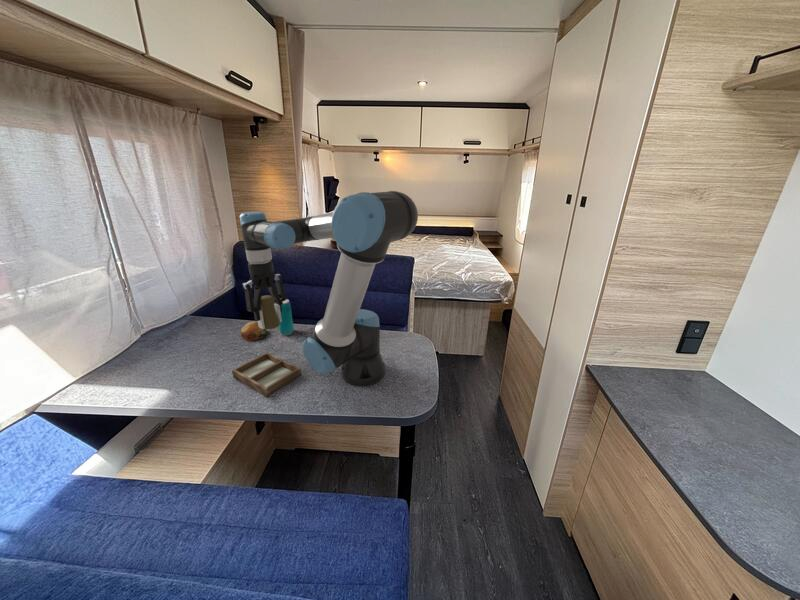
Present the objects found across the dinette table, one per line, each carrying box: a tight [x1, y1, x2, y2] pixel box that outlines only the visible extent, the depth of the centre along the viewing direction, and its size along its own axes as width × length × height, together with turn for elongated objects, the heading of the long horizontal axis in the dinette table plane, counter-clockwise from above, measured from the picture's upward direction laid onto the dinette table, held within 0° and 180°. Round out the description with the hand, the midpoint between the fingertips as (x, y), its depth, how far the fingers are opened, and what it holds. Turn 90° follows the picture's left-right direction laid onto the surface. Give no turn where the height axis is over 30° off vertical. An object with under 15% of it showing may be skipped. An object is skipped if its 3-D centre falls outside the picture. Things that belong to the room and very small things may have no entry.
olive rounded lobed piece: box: [260, 294, 280, 330], centre depth 109 cm, size 6×6×11 cm
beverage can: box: [278, 298, 294, 337], centre depth 133 cm, size 6×6×15 cm
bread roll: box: [240, 320, 268, 342], centre depth 133 cm, size 10×10×8 cm
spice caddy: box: [231, 351, 302, 398], centre depth 107 cm, size 18×14×3 cm
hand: (270, 324), depth 111 cm, fingers closed on olive rounded lobed piece, 6 cm apart
